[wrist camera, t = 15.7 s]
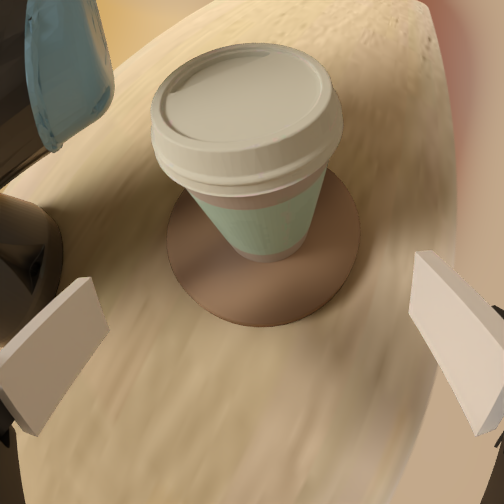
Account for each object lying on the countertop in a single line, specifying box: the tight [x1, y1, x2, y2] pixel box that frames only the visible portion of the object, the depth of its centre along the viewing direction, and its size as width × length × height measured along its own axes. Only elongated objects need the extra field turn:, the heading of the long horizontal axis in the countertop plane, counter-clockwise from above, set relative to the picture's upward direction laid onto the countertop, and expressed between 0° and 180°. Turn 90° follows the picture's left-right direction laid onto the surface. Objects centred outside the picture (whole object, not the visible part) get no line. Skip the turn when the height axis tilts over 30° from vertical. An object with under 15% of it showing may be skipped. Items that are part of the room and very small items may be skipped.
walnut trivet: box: [167, 168, 360, 327], centre depth 23 cm, size 14×14×2 cm
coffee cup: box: [151, 43, 343, 263], centre depth 17 cm, size 9×8×12 cm
